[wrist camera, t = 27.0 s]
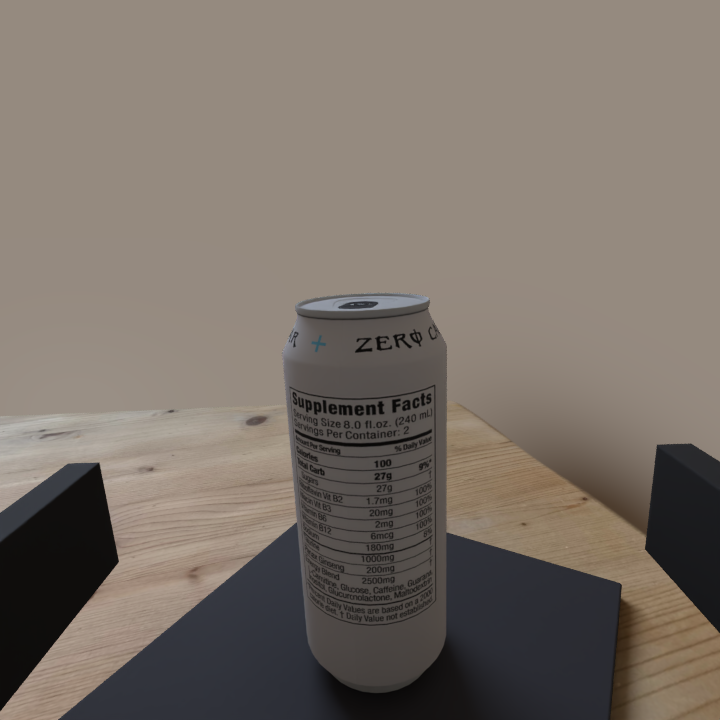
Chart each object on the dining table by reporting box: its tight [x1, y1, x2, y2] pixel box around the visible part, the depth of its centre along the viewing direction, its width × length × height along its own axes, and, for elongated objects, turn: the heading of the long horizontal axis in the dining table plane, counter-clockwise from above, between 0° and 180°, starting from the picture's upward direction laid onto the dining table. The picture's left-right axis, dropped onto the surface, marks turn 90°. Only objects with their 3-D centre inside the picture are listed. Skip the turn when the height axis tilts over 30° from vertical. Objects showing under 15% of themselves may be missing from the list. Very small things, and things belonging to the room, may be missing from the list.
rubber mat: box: [58, 523, 622, 720], centre depth 21 cm, size 18×18×1 cm
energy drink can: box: [282, 293, 447, 693], centre depth 19 cm, size 6×6×15 cm
